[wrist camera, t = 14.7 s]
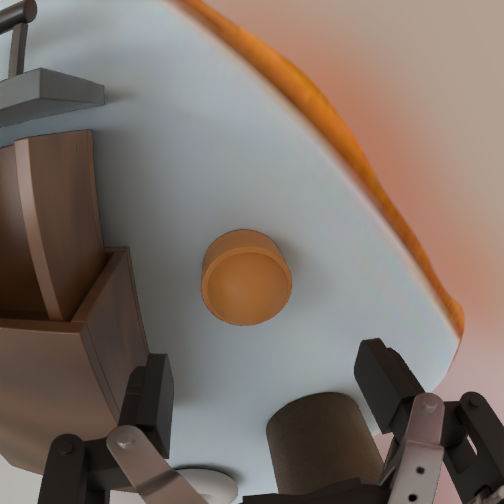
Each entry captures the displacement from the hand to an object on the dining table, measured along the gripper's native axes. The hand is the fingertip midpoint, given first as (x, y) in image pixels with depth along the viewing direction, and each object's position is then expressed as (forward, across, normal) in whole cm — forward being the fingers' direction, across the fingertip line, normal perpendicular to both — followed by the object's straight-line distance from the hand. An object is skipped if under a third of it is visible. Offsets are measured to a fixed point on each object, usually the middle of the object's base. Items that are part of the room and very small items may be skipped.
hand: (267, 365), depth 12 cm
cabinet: (+9, +14, +6) cm, 18 cm away
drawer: (+8, +14, -7) cm, 18 cm away
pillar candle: (+9, -7, +18) cm, 21 cm away
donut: (+9, +6, +30) cm, 32 cm away
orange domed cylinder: (+9, 0, 0) cm, 9 cm away
